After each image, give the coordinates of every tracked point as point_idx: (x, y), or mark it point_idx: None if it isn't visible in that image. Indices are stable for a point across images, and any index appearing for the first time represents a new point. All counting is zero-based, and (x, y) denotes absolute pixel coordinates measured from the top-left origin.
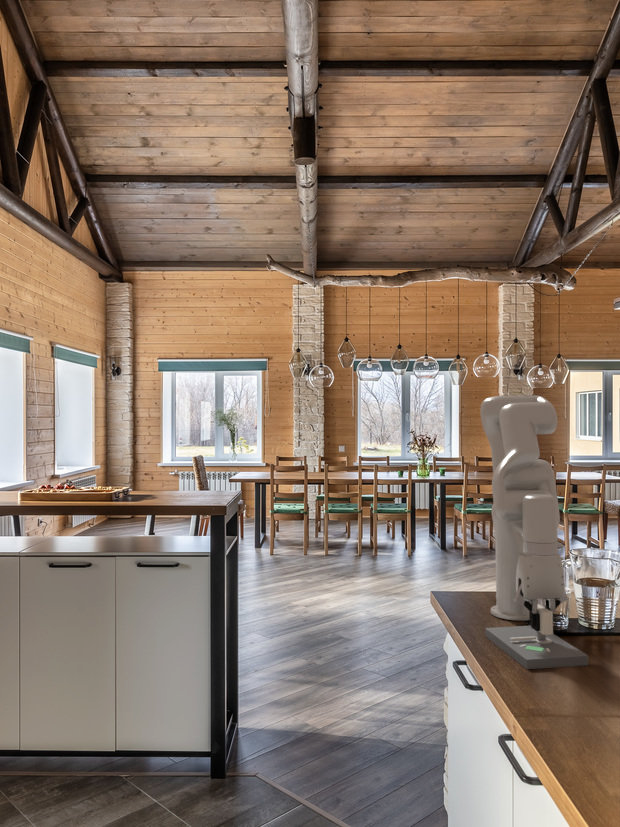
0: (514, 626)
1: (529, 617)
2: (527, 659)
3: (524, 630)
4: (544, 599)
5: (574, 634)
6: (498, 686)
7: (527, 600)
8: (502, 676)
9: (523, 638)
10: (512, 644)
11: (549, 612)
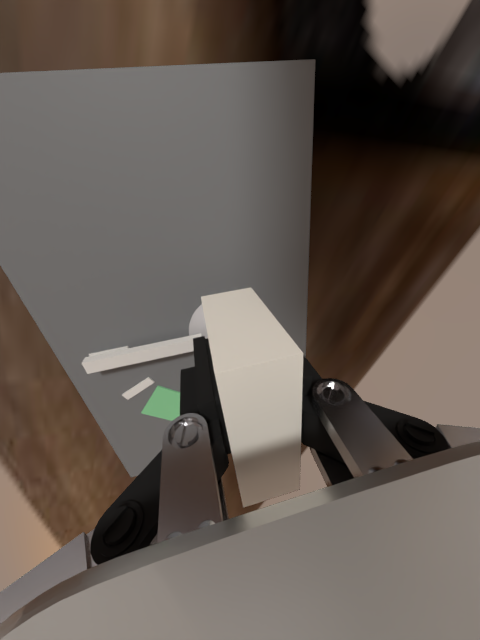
0: (141, 69)
1: (180, 394)
2: (134, 475)
3: (190, 179)
4: (351, 457)
5: (426, 131)
6: (57, 528)
7: (161, 520)
8: (67, 492)
9: (147, 360)
10: (97, 378)
11: (280, 492)
